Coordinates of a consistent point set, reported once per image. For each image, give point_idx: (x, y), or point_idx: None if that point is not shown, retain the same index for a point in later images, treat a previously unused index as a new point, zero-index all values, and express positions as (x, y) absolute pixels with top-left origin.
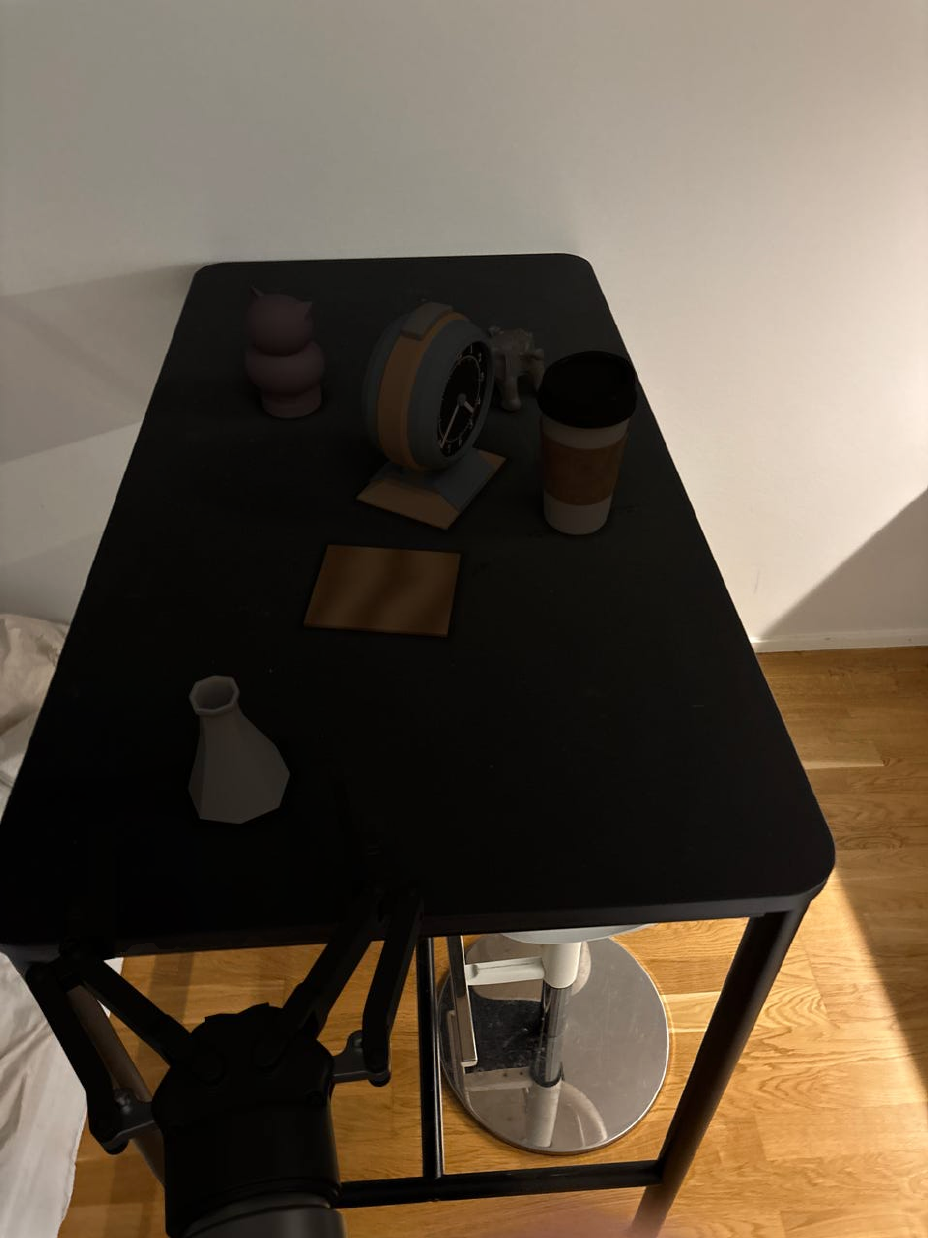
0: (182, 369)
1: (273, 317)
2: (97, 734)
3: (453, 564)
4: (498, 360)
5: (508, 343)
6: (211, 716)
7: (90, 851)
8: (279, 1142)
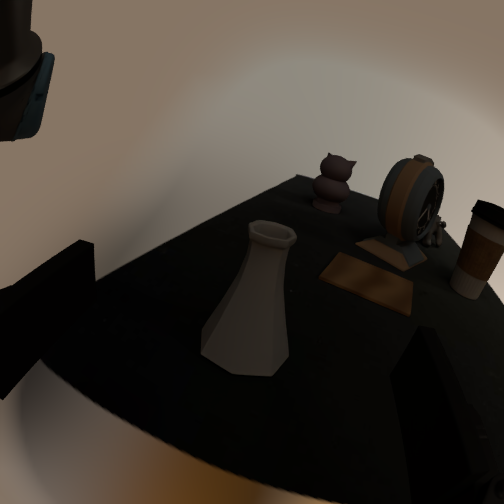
0: (279, 187)
1: (337, 160)
2: (161, 273)
3: (410, 285)
4: None
5: None
6: (262, 246)
7: (61, 253)
8: None
